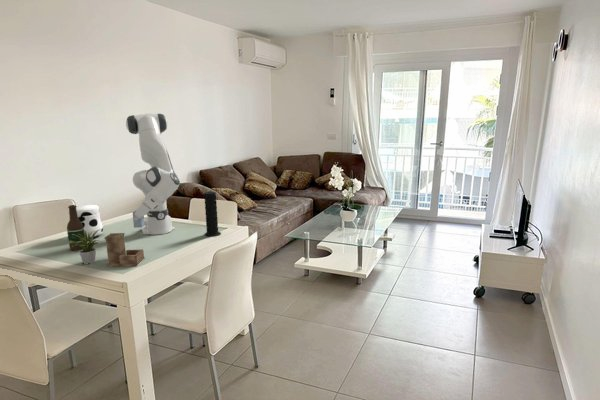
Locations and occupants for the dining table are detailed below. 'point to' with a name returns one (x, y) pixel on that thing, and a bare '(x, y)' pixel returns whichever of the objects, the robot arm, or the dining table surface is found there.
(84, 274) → the dining table surface
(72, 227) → the beer bottle
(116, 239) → the brown l-shaped block
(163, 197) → the robot arm
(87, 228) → the milk container
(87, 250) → the house plant
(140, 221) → the rail end
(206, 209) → the handle grip
